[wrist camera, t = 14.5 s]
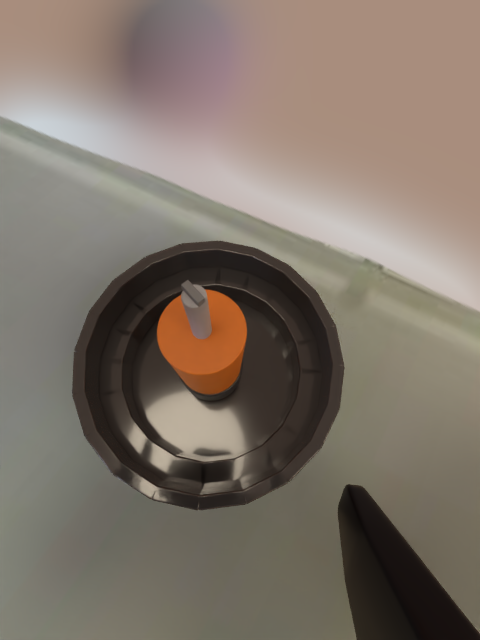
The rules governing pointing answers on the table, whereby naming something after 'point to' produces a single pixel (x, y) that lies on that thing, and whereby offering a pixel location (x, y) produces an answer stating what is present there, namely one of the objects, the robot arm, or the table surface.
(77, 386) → the bowl
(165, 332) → the screwdriver
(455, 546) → the table surface
